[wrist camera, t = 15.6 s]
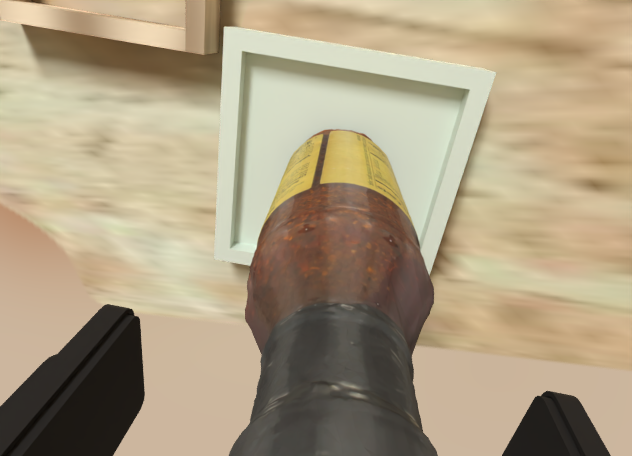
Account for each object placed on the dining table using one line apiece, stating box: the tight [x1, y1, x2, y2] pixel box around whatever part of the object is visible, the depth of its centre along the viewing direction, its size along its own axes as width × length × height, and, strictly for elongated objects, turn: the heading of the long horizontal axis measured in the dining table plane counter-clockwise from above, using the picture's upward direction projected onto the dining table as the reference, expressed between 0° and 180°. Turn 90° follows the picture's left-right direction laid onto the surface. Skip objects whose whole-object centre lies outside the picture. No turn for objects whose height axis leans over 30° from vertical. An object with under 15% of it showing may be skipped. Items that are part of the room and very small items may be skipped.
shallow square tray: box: [214, 27, 496, 275], centre depth 25 cm, size 14×14×2 cm
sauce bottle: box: [229, 129, 438, 456], centre depth 16 cm, size 7×6×20 cm
